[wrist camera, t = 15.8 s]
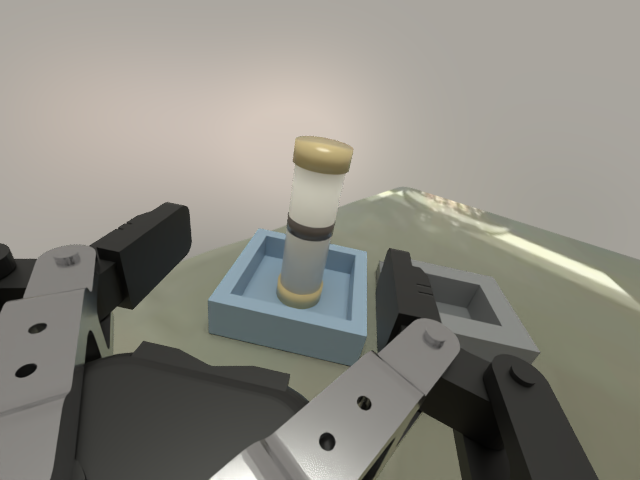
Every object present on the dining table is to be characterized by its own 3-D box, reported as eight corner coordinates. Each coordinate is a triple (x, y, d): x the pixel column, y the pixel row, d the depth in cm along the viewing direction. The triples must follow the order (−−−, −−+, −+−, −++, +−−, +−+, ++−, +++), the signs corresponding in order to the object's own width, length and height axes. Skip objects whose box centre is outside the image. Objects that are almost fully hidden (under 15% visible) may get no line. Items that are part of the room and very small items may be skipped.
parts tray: (359, 277, 34) (366, 251, 32) (356, 367, 23) (366, 336, 22) (257, 254, 34) (259, 228, 32) (208, 333, 24) (208, 300, 22)
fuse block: (476, 293, 35) (493, 262, 33) (548, 436, 21) (587, 399, 19) (376, 271, 35) (386, 238, 33) (382, 397, 22) (400, 356, 19)
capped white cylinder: (323, 284, 30) (354, 144, 23) (316, 313, 26) (352, 157, 19) (282, 275, 30) (301, 133, 23) (270, 302, 26) (289, 143, 19)
